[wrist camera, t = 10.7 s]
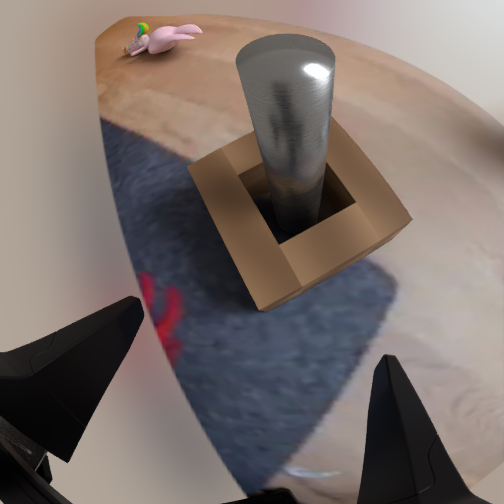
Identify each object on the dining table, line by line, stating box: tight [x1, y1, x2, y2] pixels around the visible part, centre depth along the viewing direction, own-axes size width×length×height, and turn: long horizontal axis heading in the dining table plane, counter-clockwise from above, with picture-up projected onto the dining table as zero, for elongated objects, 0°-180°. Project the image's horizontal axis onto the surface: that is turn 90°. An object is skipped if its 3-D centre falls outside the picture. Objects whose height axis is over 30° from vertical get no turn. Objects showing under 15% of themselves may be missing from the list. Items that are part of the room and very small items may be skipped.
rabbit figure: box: [122, 23, 202, 56], centre depth 25 cm, size 6×6×15 cm
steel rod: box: [236, 34, 335, 234], centre depth 13 cm, size 3×3×13 cm
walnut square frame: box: [187, 116, 413, 312], centre depth 17 cm, size 10×10×4 cm
